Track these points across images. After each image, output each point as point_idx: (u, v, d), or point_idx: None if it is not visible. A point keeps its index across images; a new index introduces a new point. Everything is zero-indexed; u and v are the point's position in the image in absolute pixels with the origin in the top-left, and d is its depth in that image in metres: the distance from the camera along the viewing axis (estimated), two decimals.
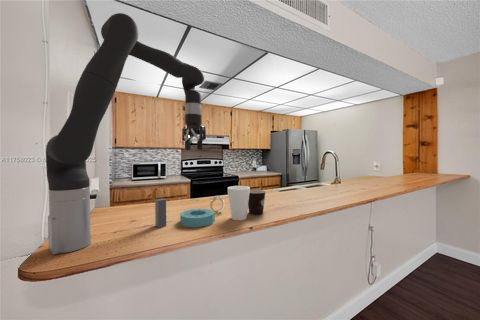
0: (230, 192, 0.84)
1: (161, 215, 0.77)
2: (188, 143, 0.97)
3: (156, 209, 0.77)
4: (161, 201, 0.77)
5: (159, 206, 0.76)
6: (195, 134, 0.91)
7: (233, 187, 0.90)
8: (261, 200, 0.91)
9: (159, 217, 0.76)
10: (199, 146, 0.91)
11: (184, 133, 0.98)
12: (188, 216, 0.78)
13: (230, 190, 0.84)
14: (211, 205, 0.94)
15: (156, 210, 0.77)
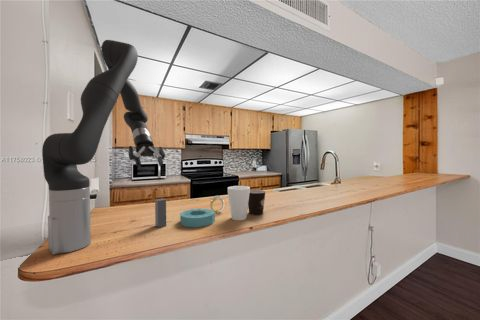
0: (230, 192, 0.84)
1: (161, 215, 0.77)
2: None
3: (156, 209, 0.77)
4: (161, 201, 0.77)
5: (159, 206, 0.76)
6: (156, 151, 0.91)
7: (233, 187, 0.90)
8: (261, 200, 0.91)
9: (159, 217, 0.76)
10: (162, 161, 0.90)
11: None
12: (188, 216, 0.78)
13: (230, 190, 0.84)
14: (211, 205, 0.94)
15: (156, 210, 0.77)
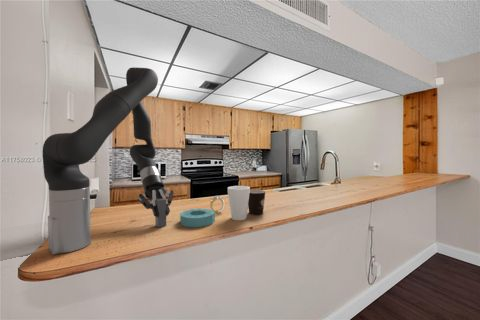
0: (230, 192, 0.84)
1: (161, 215, 0.77)
2: None
3: None
4: (161, 201, 0.77)
5: (159, 206, 0.76)
6: None
7: (233, 187, 0.90)
8: (261, 200, 0.91)
9: (159, 217, 0.76)
10: (168, 210, 0.78)
11: None
12: (188, 216, 0.78)
13: (230, 190, 0.84)
14: (211, 205, 0.94)
15: None
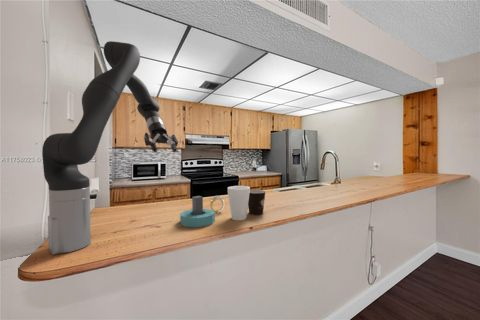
0: (230, 192, 0.84)
1: (199, 211, 0.82)
2: None
3: (194, 206, 0.82)
4: (198, 198, 0.82)
5: (197, 203, 0.81)
6: (170, 138, 0.96)
7: (233, 187, 0.90)
8: (261, 200, 0.91)
9: (197, 213, 0.81)
10: (176, 148, 0.95)
11: None
12: (188, 216, 0.78)
13: (230, 190, 0.84)
14: (211, 205, 0.94)
15: (194, 207, 0.82)
